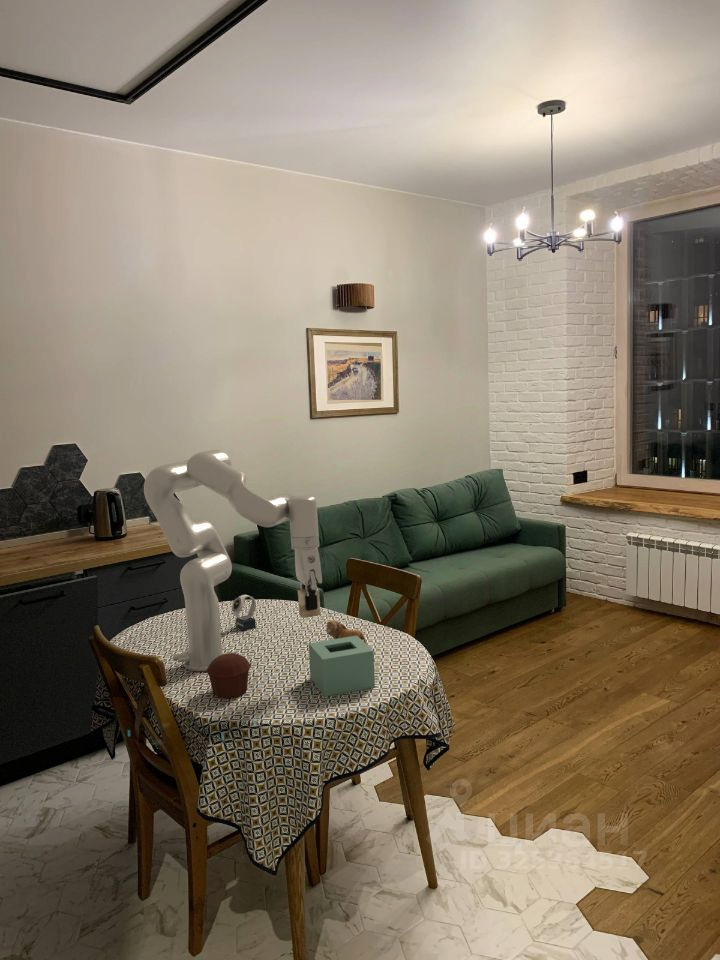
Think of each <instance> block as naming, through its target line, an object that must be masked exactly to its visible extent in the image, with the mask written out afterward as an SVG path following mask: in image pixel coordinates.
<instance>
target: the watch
mask: <svg viewBox="0 0 720 960" xmlns="http://www.w3.org/2000/svg"><path fill="white" fill-rule="evenodd" d="M246 598H249V599H250V600H251V604H250V607H249V610H248V613H247V614H246V615H242V616H241V617H240V616H239V615H240V612H241V611H242V610H243V608H244V605H245V600H246ZM231 606H232V607H231V610H232V613H233V614H234V616H235V627H236V628H237V629H238V630H242V631H243V632H247V631H249V630H253V629H256V627H257V626H256V618H254V617H253V616H254V614H255V612H256V609H257V603H256V599H255V598H254V597H253V596H250V595H248V594H242V595H239V596H238V597H236V598H235V599H234V600H233V602H232V605H231Z"/></svg>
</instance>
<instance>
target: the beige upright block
mask: <svg viewBox="0 0 720 960" xmlns="http://www.w3.org/2000/svg"><path fill="white" fill-rule="evenodd" d="M308 590H309V588H308ZM305 596H306V590H305V589H301V588H300V589H297V597H298V610H299V616H300V617H301V618H302V619H305V618H311V617H317V616H321V615H322V613H321V612H322V611H321V601H320V590H319V589H318V588H317V605H318V608H317V609H315V610H309V611H307V610H306V605H305Z"/></svg>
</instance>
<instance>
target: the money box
mask: <svg viewBox="0 0 720 960" xmlns="http://www.w3.org/2000/svg"><path fill="white" fill-rule="evenodd" d="M374 652H375V651H374V649H372V648H371V647H370V646H369V645H368V643H367V642H366V643H365V642H364V641H363V640H361V639H360V638H359V637H358V636H351V637H345V638H339V639H327V640H322V641H321V640H320V641H315V642H310V643H308V654H309V658H308V659H309V675H310V679H311V681H312V682H313V684H314V685H315V686H316V688H317V689H318V690H319V691H320V692H321V694H322V696H323V697H328V696H336V695H340V694H341V695H342V694H345V693H351V692H356V691H361V690H367V689H372V688H375V687H376V681H375V680H376V677H375V676H376V675H375V655H374V654H375V653H374Z"/></svg>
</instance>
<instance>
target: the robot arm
mask: <svg viewBox="0 0 720 960" xmlns="http://www.w3.org/2000/svg"><path fill="white" fill-rule="evenodd" d="M246 483H247V476H246V474H245V473H244V472H243V471H241V470H239V469H237V468H236V467H233V466H232V461H231V458H230V457H229V456H228V454H227V453H226V452H224V451H221V450H219V449H212V450H207V451H200V452H198V453H195V454H193V455H192V456H190V458H189V459H187V460H184V461H179V462H173V463H172V462H171V463H166V464H163V465H159V466H157V467H155V468H153V469H151V471H149V473H148V474H147V476H146V477H145V479H144V483H143V494H144V498H145V500H146V503H147V504H148V506H149V508H150V510H151V512H152V513H153V515H154V517H155V518H156V520H157V523H158V524H159V527H160V529H161V531H162V533H163V535H164V537H165V540H166V541H167V543H168V545H169V547H170V550H171V551H172V553H173V554H174V555H175V556H176V557H178V558H187V557H191V556H193V555H197V557H196V558H194V559H191V560H189V561H188V562H187V563H185V564H184V565H183V567H182V568H181V570H180V573H179V581H180V585H181V589H182V593H183V596H184V597H183V598H184V606H185V607H184V608H185V616H186V629H187V642H188V643H187V644H188V645H187V646H188V647H187V648H186V651H183V653H173V654H172V662H176V661H178V662H177V663H183V665H184V668H185V669H186V670H188V669H189V670H188V671H192V672H206V670H207V668H208V666H209V665H210V663H211V662H212V661H213V660H214V659H215V658H217V657H218V656H220V655H223V654H224V653H223V646H222V644H223V643H222V632H221V614H220V603H219V598H218V596H217V594H216V592H215V588H214V587H215V586H217V585H219V584H221V583H223V582H225V581H226V580H228V579H229V577H230V576H231V574H232V571H233V565H232V561H231V558H230V556H229V554H228V552H227V550H226V547H225V546H224V543H223V541H222V539H221V537H220V535H219V533H218V531H217V530H216V528H215V526H213V524H211V523H210V522H209V521H208V520H206V519H193V520H192V519H191V518H190V516H189V514H188V512H187V509H186V507H185V506H184V504H183V503H182V502H180V500H179V499H178V498H176V496H175V495H174V494H175V493H179V492H183V491H188V490H192V489H194V488H197V487H200V486H204V487H206V488H207V489H210V490H211V491H212V492H215V493H216V494H218V495H220V496H222V497H224V498H225V499H227V501H228V502H229V505H230V506H231V507H232V508H233V510H234V511H235V512H236V513H237V514H238V515H240V516H241V517H243V518H245V519H246V520H248V521H249V522H251V523H254V524H255V525H258V526H260V527H264V528H271V527H274V526H277V525H279V524H283V523H285V522H288V521H289V528H290V529H289V530H290V532H289V533H290V542H291V550H294V568H295V574H296V579H297V580H298V581H299V583H300V590H301V589H305V590H306V596H305V605H306V610H307V611H309V610H315V609H317V608H318V605H317V589H318V586H317V584H318V585H321V584H322V583H323V578H322V577H323V576H322V568H321V559H320V553H319V549H318V548H319V547H320V533H319V520H318V506H317V505H318V504H317V499H316V497H314V496H311V495H297V496H295V495H291V494H290V495H289V494H284V493H283V494H277V495H274V496H271V497H267V498H265V497H262V496H261V495H259V494H257V493H255V492H253V491H252V490H250V489H249V488H248V487H247V486H246ZM308 588H309V590H308Z"/></svg>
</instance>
